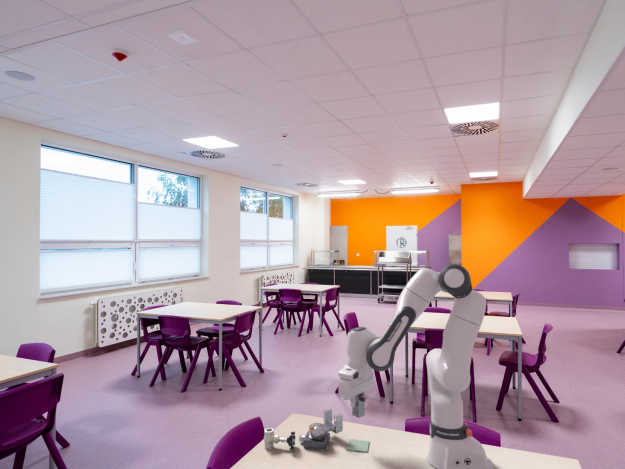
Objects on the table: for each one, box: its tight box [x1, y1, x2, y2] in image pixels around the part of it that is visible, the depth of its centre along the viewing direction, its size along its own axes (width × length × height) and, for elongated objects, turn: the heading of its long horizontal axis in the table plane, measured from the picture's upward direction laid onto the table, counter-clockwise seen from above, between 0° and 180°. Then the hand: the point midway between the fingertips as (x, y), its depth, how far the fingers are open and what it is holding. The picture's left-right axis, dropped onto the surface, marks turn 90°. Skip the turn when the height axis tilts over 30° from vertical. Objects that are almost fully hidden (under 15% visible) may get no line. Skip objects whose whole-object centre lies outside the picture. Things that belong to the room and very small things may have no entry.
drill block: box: [298, 430, 331, 451], centre depth 156 cm, size 12×8×3 cm
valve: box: [263, 427, 297, 451], centre depth 153 cm, size 7×7×12 cm
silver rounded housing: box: [308, 408, 344, 440], centre depth 158 cm, size 14×8×7 cm, turn 129°
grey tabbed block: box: [351, 393, 366, 419], centre depth 154 cm, size 3×6×8 cm, turn 40°
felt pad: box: [346, 438, 370, 453], centre depth 154 cm, size 8×8×1 cm
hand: (357, 404), depth 154 cm, fingers closed on grey tabbed block, 4 cm apart
